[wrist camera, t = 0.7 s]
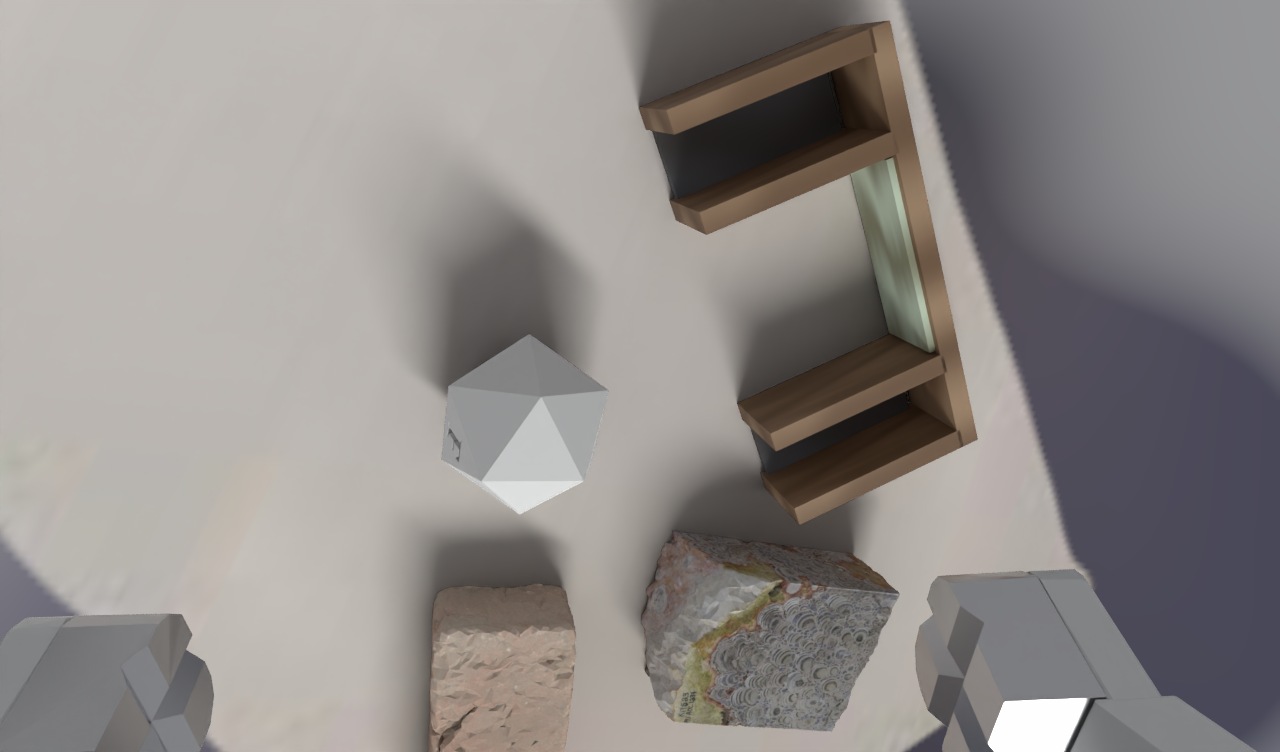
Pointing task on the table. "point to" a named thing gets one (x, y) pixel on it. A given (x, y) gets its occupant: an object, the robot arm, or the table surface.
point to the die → (523, 424)
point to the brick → (501, 669)
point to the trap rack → (897, 240)
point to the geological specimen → (760, 631)
